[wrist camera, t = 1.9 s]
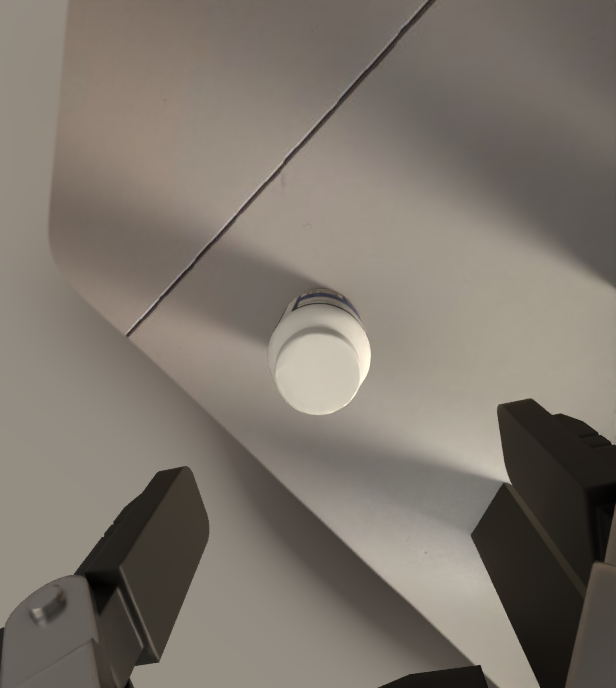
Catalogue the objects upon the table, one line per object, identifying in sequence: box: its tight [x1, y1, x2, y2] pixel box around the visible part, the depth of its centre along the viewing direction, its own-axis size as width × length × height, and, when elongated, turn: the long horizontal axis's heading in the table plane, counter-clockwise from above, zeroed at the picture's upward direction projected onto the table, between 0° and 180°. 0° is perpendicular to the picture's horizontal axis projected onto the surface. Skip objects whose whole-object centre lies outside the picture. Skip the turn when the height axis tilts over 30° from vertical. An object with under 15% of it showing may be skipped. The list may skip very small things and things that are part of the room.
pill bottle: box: [268, 289, 371, 415], centre depth 24 cm, size 5×5×10 cm
